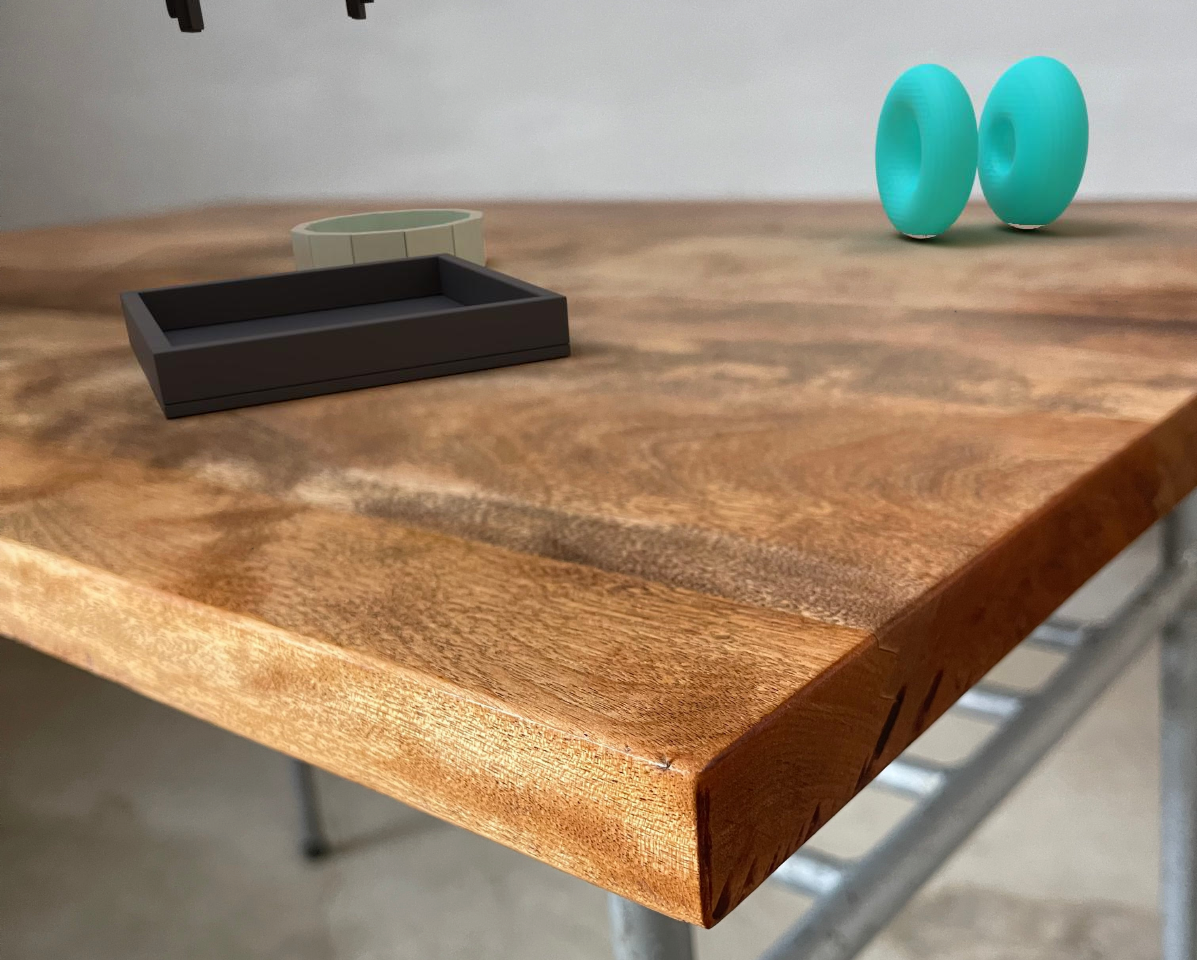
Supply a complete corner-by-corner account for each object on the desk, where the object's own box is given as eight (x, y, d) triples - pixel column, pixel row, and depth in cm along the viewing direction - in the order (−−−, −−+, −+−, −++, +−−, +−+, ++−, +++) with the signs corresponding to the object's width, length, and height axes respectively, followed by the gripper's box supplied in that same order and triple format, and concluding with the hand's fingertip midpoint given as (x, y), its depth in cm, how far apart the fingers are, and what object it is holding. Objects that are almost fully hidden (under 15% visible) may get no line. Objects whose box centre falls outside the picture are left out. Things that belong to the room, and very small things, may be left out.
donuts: (865, 231, 81) (870, 65, 77) (1008, 219, 82) (1020, 55, 78) (930, 251, 72) (939, 64, 68) (1089, 236, 73) (1107, 53, 69)
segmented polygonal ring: (284, 292, 72) (276, 239, 71) (316, 262, 83) (310, 216, 82) (482, 278, 72) (477, 225, 71) (489, 250, 83) (485, 204, 82)
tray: (129, 343, 61) (118, 292, 60) (452, 300, 66) (447, 252, 65) (166, 419, 47) (152, 353, 46) (571, 355, 52) (567, 296, 51)
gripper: (27, -339, 62) (106, 36, 69) (372, -365, 62) (417, 11, 69) (77, -299, 69) (145, 38, 76) (388, -323, 69) (428, 16, 76)
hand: (275, 25), depth 72 cm, fingers open, 9 cm apart
